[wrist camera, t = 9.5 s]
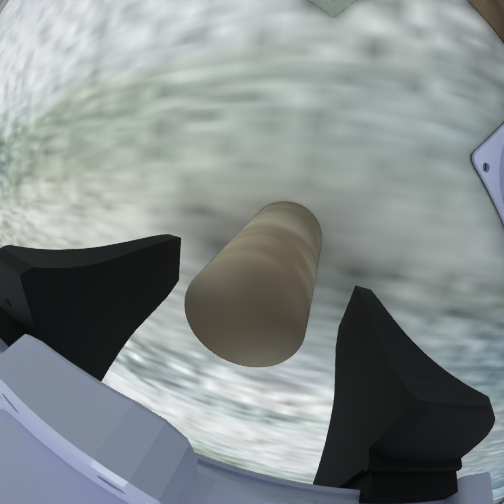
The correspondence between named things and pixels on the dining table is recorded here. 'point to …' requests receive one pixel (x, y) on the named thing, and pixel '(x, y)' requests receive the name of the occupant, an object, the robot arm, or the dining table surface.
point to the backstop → (492, 13)
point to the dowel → (258, 288)
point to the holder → (333, 5)
